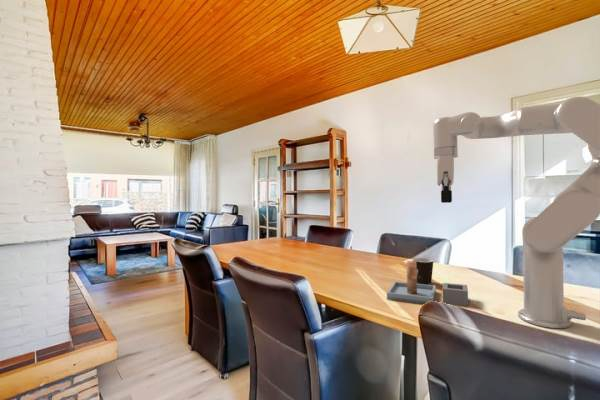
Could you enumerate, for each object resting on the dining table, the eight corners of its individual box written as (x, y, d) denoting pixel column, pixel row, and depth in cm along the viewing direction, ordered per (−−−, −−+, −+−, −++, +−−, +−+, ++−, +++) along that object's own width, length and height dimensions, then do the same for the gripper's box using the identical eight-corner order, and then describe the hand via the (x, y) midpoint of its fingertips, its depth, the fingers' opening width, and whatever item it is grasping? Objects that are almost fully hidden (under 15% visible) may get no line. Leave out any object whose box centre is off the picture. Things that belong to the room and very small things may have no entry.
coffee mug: (436, 285, 130) (435, 262, 130) (414, 285, 132) (414, 262, 132) (430, 278, 142) (429, 256, 142) (410, 277, 143) (410, 256, 143)
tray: (435, 291, 123) (435, 285, 123) (433, 305, 108) (432, 298, 108) (394, 287, 130) (394, 281, 130) (387, 299, 116) (386, 292, 116)
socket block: (467, 298, 114) (467, 285, 114) (468, 305, 107) (467, 291, 107) (443, 295, 118) (443, 282, 118) (442, 302, 111) (442, 288, 110)
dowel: (417, 291, 120) (416, 261, 120) (416, 294, 117) (415, 263, 116) (407, 290, 121) (407, 260, 121) (406, 293, 118) (405, 262, 118)
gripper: (435, 156, 117) (436, 201, 118) (432, 151, 102) (433, 203, 102) (457, 155, 114) (458, 201, 114) (457, 149, 99) (458, 202, 99)
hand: (446, 202), depth 108 cm, fingers open, 9 cm apart
